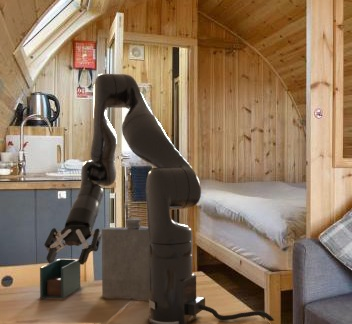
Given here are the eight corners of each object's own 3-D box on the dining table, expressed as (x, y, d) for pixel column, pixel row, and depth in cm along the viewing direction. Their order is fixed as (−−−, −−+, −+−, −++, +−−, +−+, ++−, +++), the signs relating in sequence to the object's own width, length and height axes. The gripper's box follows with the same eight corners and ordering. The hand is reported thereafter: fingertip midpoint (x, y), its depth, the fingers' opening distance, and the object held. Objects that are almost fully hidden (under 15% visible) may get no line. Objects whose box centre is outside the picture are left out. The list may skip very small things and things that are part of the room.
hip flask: (100, 298, 116) (99, 219, 116) (107, 294, 120) (107, 217, 120) (160, 301, 113) (160, 220, 113) (166, 296, 117) (165, 218, 117)
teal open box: (59, 288, 126) (58, 258, 125) (80, 288, 125) (80, 259, 125) (40, 299, 116) (39, 267, 116) (63, 299, 115) (63, 267, 115)
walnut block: (54, 291, 121) (54, 276, 121) (69, 291, 121) (69, 276, 121) (46, 295, 117) (46, 279, 117) (62, 295, 117) (62, 280, 117)
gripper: (55, 206, 132) (34, 254, 121) (103, 206, 131) (87, 255, 120) (63, 222, 137) (44, 270, 126) (110, 222, 136) (95, 270, 125)
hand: (65, 262), depth 123 cm, fingers open, 8 cm apart
